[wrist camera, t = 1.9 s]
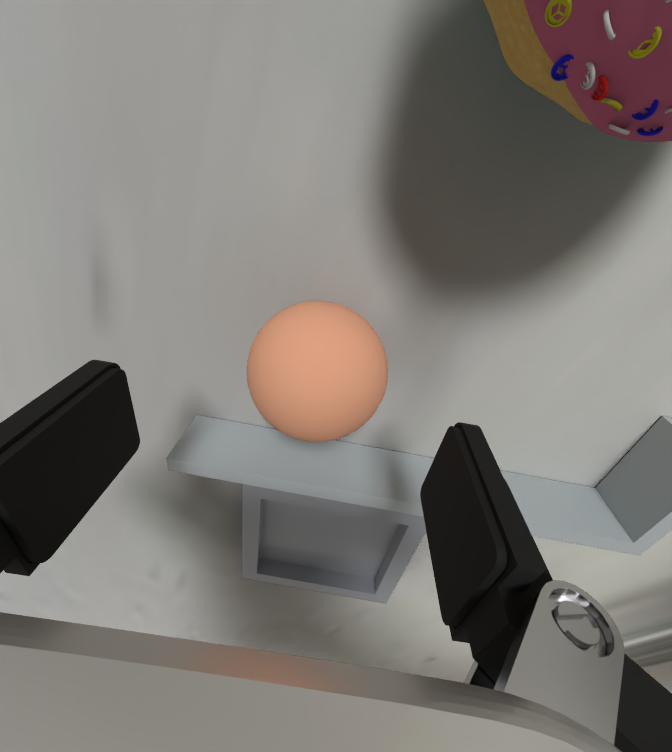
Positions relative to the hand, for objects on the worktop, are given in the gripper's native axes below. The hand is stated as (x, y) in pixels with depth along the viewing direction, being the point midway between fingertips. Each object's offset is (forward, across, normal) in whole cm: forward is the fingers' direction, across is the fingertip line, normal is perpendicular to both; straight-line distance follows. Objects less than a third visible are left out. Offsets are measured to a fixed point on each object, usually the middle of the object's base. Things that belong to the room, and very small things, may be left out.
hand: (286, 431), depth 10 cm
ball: (+5, -1, 0) cm, 5 cm away
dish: (+6, -3, +12) cm, 14 cm away
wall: (+5, -6, +3) cm, 8 cm away
